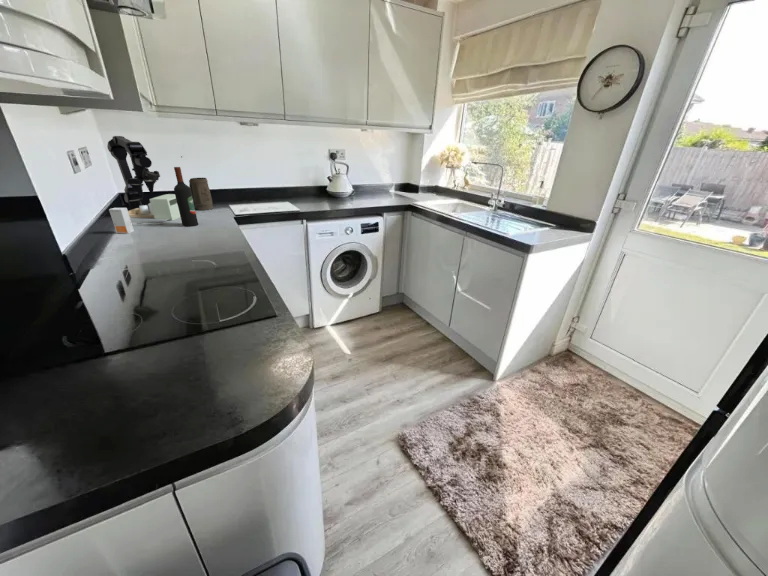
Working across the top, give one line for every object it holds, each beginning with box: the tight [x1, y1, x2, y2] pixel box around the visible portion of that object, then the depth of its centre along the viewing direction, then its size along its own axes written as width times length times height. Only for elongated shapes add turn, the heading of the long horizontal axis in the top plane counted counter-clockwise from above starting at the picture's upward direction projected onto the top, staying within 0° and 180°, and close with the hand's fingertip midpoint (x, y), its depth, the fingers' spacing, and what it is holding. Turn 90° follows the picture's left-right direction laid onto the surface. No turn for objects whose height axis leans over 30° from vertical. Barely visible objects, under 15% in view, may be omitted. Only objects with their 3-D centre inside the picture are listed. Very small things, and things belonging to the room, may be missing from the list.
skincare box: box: [108, 207, 135, 235], centre depth 159 cm, size 6×4×12 cm
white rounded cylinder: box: [139, 204, 150, 215], centre depth 192 cm, size 4×4×5 cm
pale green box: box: [149, 193, 181, 222], centre depth 190 cm, size 17×10×12 cm, turn 3°
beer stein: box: [188, 177, 215, 211], centre depth 212 cm, size 15×11×20 cm
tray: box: [128, 208, 155, 219], centre depth 191 cm, size 12×18×4 cm, turn 93°
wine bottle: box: [173, 166, 199, 228], centre depth 171 cm, size 8×8×30 cm
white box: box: [147, 202, 154, 215], centre depth 190 cm, size 4×4×7 cm
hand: (147, 195), depth 187 cm, fingers open, 9 cm apart
